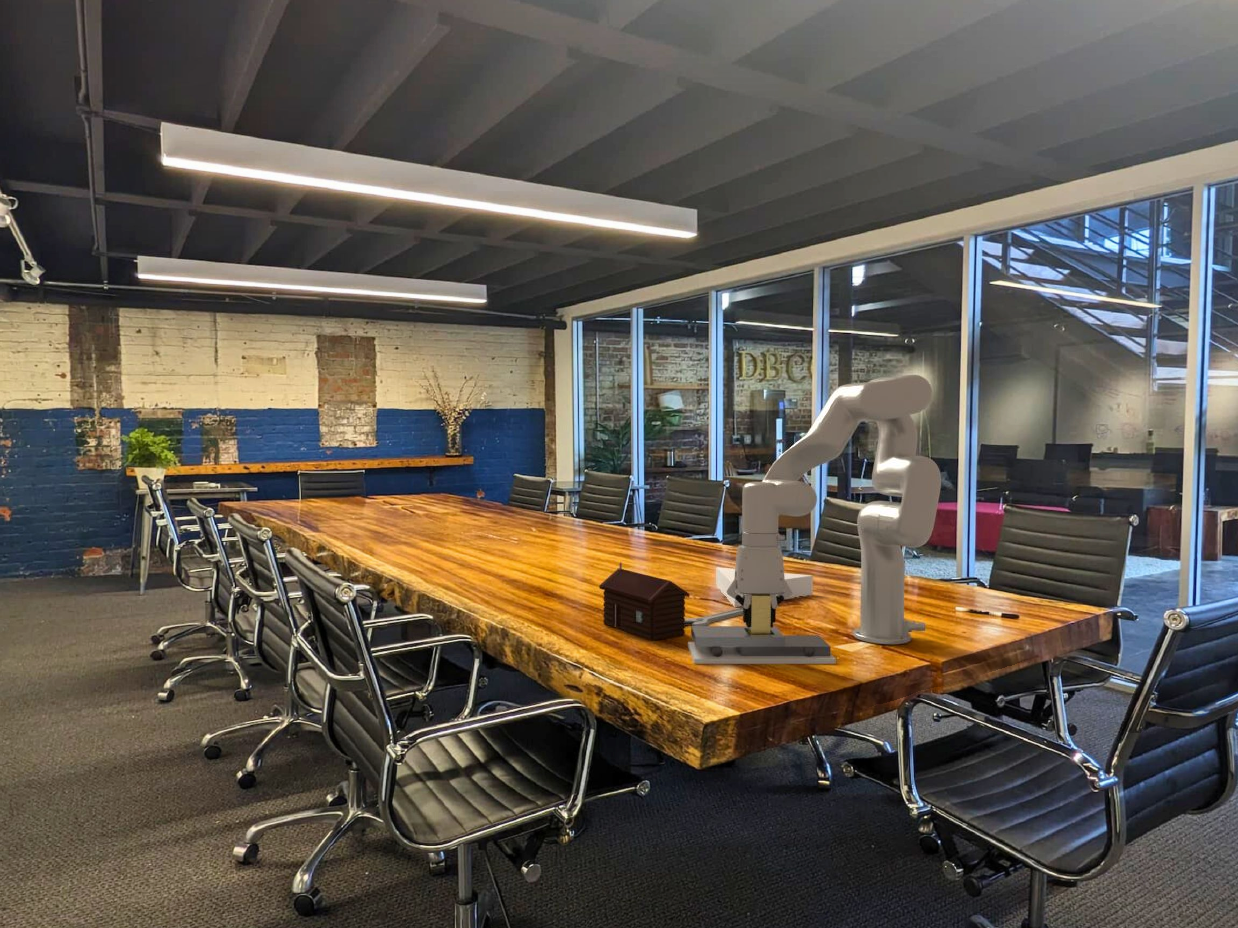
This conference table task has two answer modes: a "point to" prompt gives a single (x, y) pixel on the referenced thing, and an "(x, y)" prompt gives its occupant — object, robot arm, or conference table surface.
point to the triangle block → (796, 583)
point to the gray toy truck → (758, 642)
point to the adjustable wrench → (713, 617)
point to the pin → (760, 614)
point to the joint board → (750, 657)
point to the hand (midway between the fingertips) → (759, 625)
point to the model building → (643, 605)
